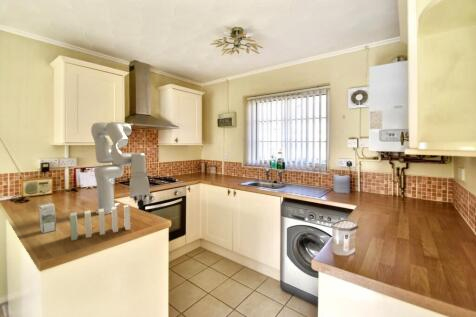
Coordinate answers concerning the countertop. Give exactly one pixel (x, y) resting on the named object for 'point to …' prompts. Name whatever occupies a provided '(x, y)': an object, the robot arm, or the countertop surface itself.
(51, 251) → the countertop surface
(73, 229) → the sage domino
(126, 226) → the domino
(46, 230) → the syrup box
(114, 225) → the domino
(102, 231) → the domino
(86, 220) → the domino
